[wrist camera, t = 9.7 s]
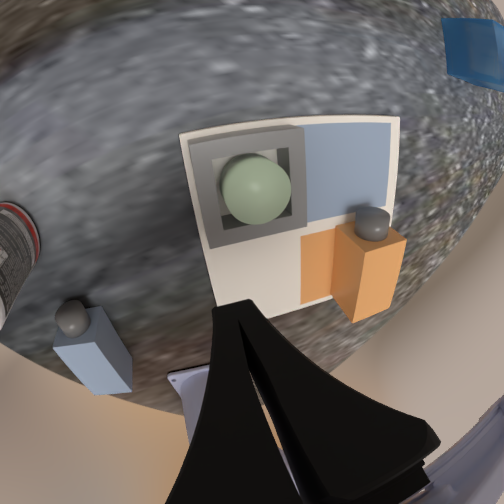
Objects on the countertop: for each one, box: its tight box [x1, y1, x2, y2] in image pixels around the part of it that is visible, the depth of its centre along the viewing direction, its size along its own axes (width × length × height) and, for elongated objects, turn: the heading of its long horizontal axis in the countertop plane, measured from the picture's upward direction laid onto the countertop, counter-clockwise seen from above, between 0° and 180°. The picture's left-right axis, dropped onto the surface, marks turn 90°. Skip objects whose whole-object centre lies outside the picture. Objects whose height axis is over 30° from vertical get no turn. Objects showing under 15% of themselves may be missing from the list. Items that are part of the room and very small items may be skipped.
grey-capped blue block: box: [53, 300, 132, 395], centre depth 18 cm, size 8×4×4 cm, turn 5°
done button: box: [219, 153, 291, 225], centre depth 15 cm, size 4×4×2 cm
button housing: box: [187, 124, 307, 249], centre depth 16 cm, size 6×6×2 cm
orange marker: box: [330, 206, 407, 323], centre depth 20 cm, size 8×4×4 cm, turn 7°
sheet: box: [179, 115, 400, 319], centre depth 20 cm, size 16×16×1 cm
